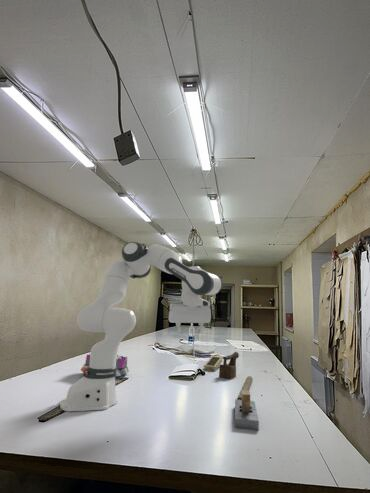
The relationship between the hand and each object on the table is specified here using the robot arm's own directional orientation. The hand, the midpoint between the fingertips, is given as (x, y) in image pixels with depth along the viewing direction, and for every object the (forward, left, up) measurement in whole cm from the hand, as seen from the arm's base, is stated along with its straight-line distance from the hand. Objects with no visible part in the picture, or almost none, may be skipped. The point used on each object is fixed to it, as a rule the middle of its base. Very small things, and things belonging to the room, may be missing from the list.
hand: (189, 333), depth 133 cm
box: (+50, +56, -29) cm, 80 cm away
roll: (+38, +7, -30) cm, 48 cm away
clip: (+14, -22, -29) cm, 39 cm away
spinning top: (-22, +58, -29) cm, 69 cm away
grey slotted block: (+14, -22, -29) cm, 39 cm away
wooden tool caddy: (+48, +34, -29) cm, 66 cm away
